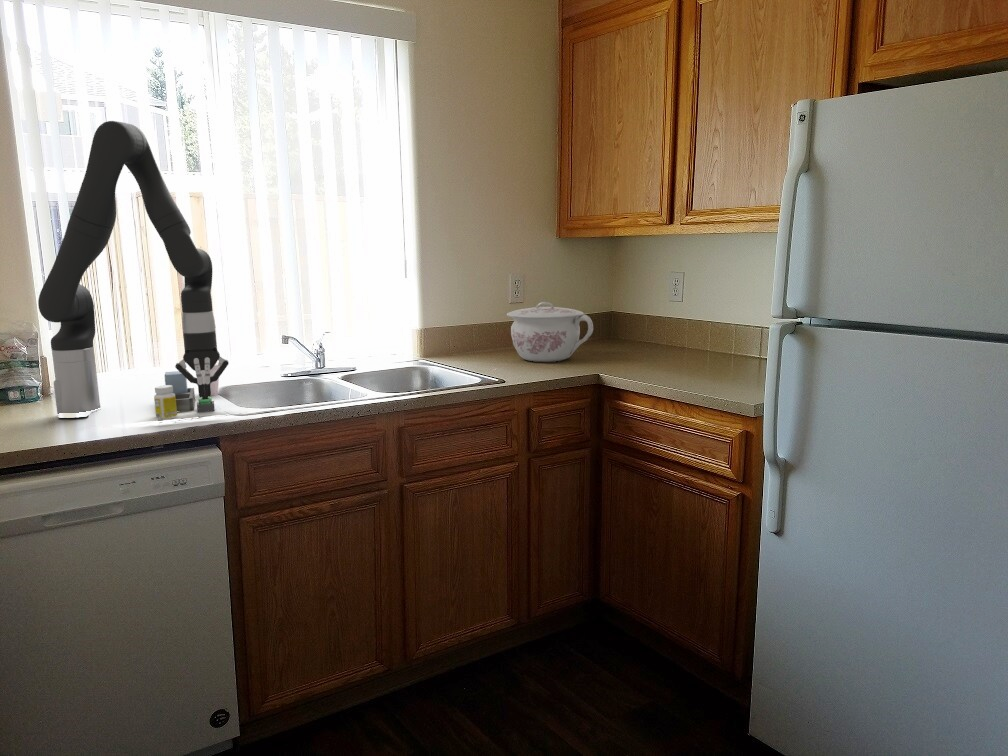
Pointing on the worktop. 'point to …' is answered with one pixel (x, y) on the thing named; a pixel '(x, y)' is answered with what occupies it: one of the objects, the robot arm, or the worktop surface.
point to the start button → (205, 400)
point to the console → (205, 407)
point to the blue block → (176, 382)
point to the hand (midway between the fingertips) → (205, 398)
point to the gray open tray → (185, 401)
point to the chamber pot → (547, 332)
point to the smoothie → (214, 384)
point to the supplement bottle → (165, 401)
